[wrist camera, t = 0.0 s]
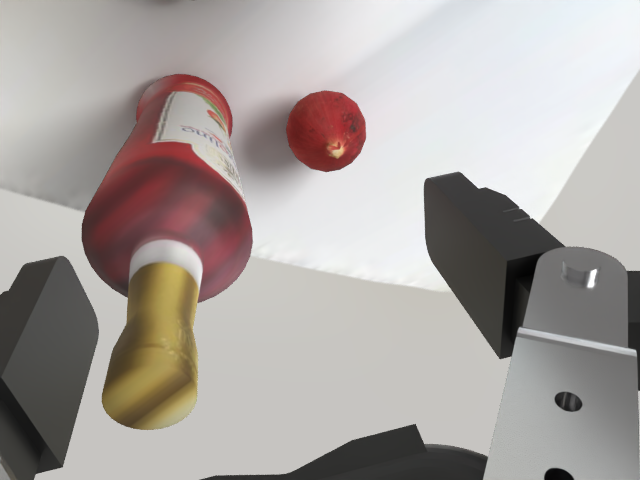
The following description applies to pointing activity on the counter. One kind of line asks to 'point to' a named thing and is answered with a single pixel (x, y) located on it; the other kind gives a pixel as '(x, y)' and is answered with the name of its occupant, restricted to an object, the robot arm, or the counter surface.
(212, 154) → the liquor
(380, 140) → the counter surface
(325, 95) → the onion
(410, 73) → the counter surface
